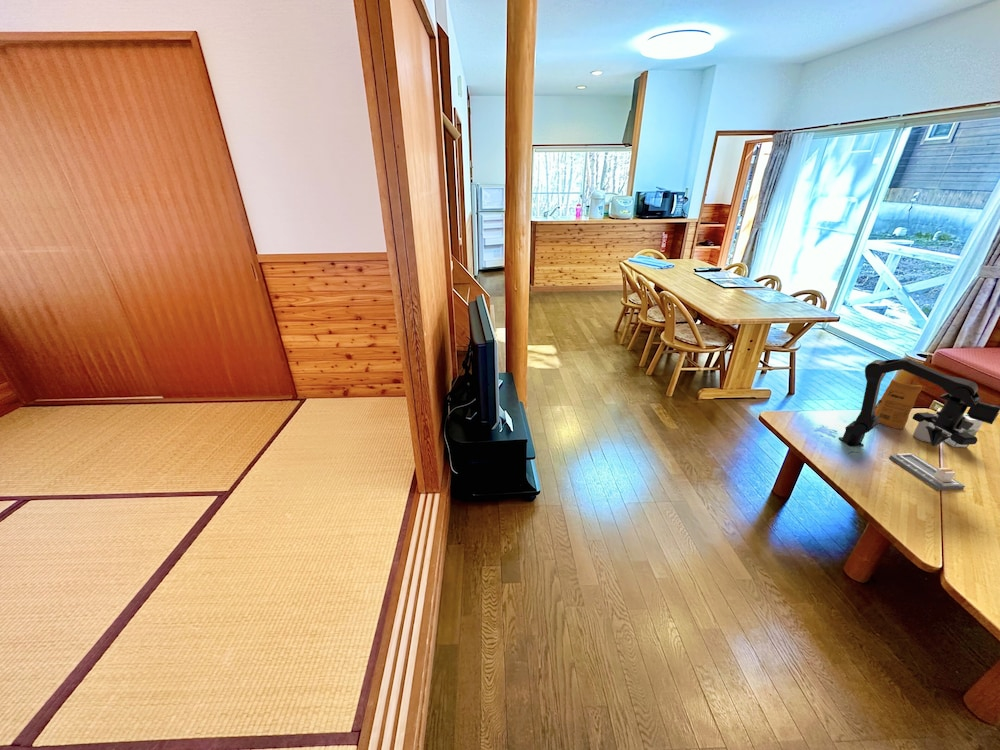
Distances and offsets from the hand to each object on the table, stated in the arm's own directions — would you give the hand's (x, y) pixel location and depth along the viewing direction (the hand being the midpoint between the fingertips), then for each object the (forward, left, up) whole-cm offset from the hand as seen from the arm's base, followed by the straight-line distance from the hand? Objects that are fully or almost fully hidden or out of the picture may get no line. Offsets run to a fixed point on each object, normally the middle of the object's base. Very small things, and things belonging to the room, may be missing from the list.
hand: (933, 445), depth 156 cm
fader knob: (0, -8, -10) cm, 13 cm away
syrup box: (+31, +15, -12) cm, 37 cm away
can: (+22, +20, -12) cm, 32 cm away
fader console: (0, -2, -12) cm, 12 cm away
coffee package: (+18, +34, -12) cm, 40 cm away
